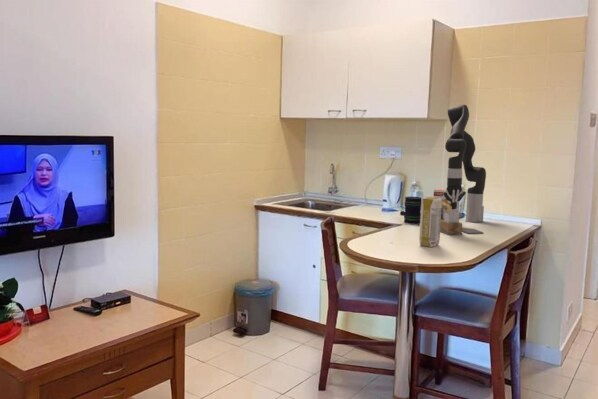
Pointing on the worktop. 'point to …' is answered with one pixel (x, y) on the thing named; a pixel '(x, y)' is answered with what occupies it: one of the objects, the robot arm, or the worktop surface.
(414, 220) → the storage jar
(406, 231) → the worktop surface
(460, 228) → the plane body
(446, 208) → the lever
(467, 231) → the mat
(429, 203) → the juice carton
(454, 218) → the cap
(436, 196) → the cracker box
